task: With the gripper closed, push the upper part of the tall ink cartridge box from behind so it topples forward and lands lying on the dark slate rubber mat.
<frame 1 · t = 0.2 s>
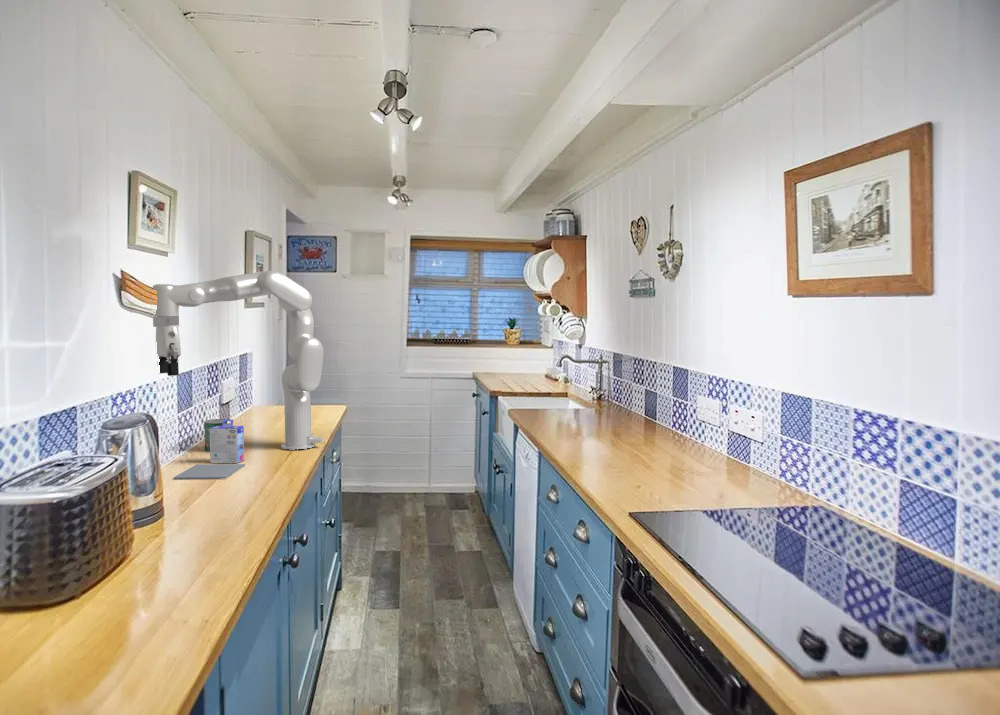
hand: (168, 374, 203), 31 cm above the countertop, tool pointing down, fingers open, 9 cm apart
canned tomato: (216, 450, 230), on the countertop
ink cartridge box: (227, 462, 212), on the countertop
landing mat: (210, 472, 198), on the countertop
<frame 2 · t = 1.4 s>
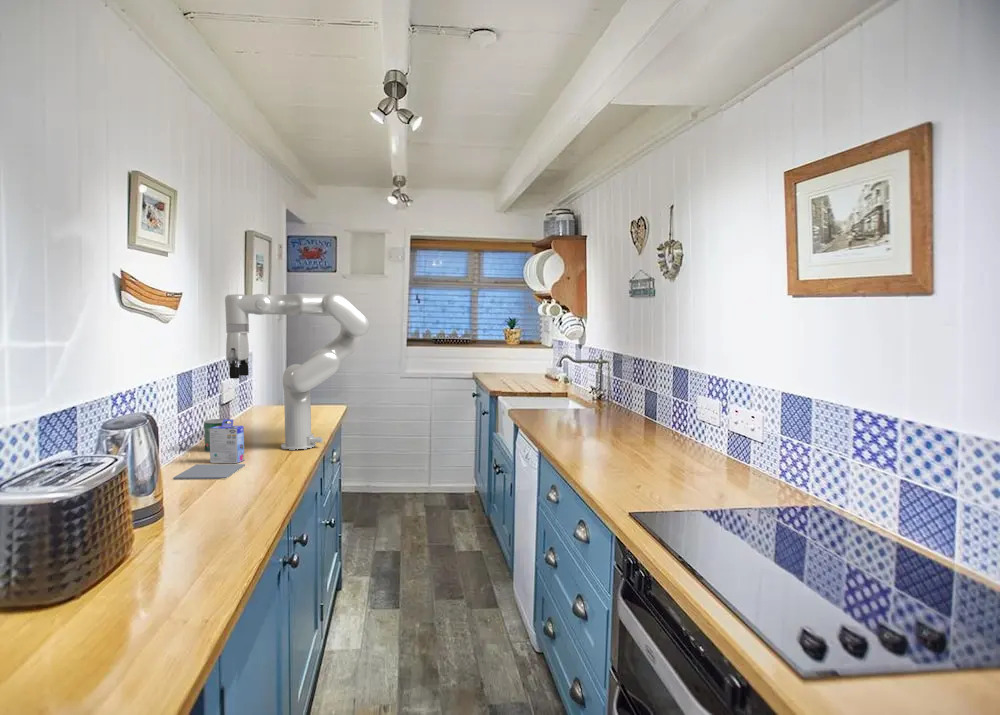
hand: (239, 376, 223), 28 cm above the countertop, tool pointing down, fingers open, 8 cm apart
nothing on the countertop moved.
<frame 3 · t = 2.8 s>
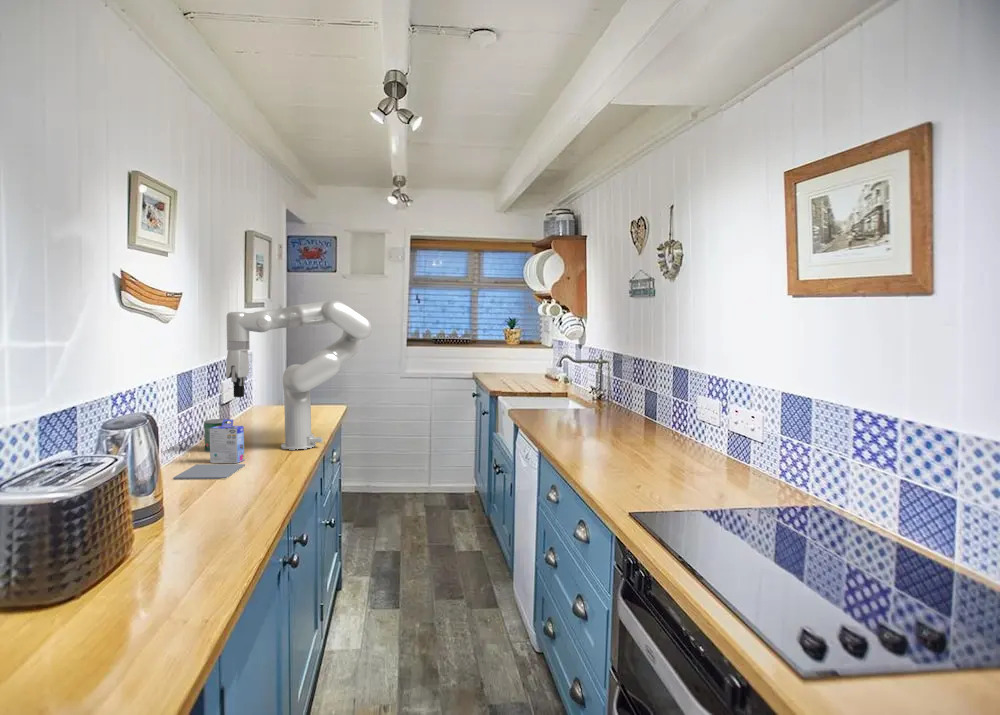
hand: (239, 396, 223), 21 cm above the countertop, tool pointing down, fingers closed
nothing on the countertop moved.
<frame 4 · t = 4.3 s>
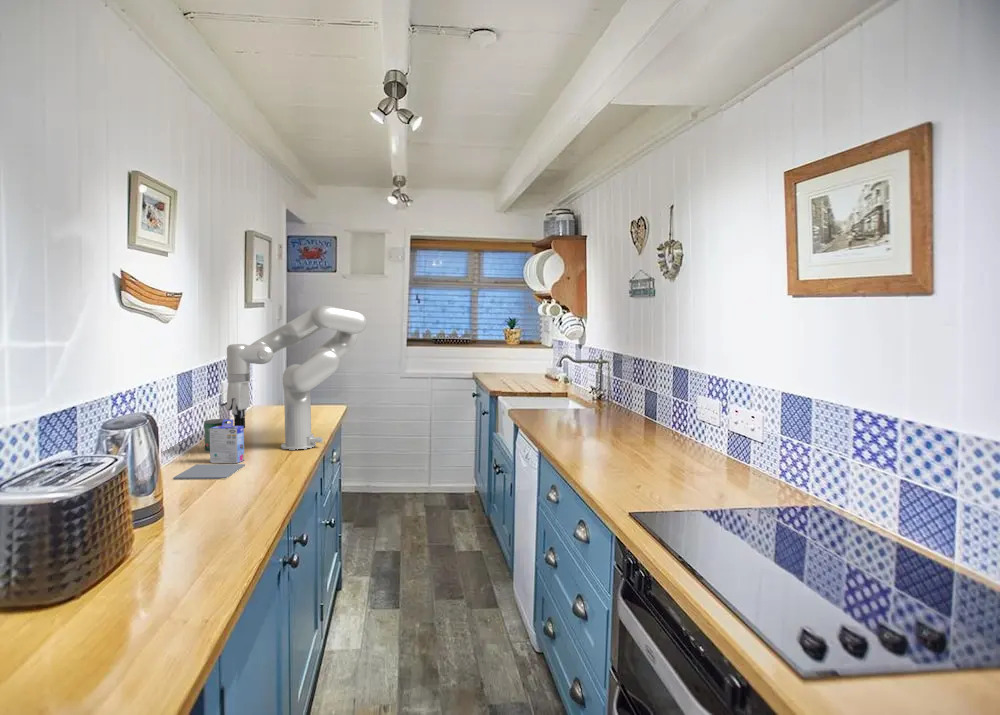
hand: (239, 428, 224), 9 cm above the countertop, tool pointing down, fingers closed
nothing on the countertop moved.
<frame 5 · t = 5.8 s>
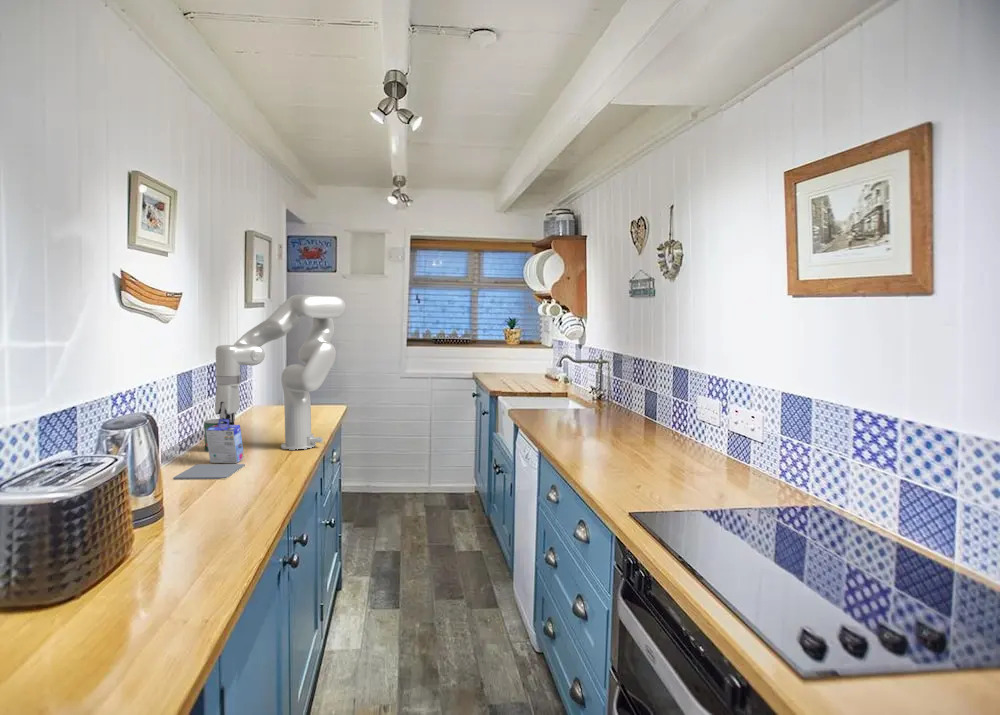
hand: (228, 433, 214), 9 cm above the countertop, tool pointing down, fingers closed
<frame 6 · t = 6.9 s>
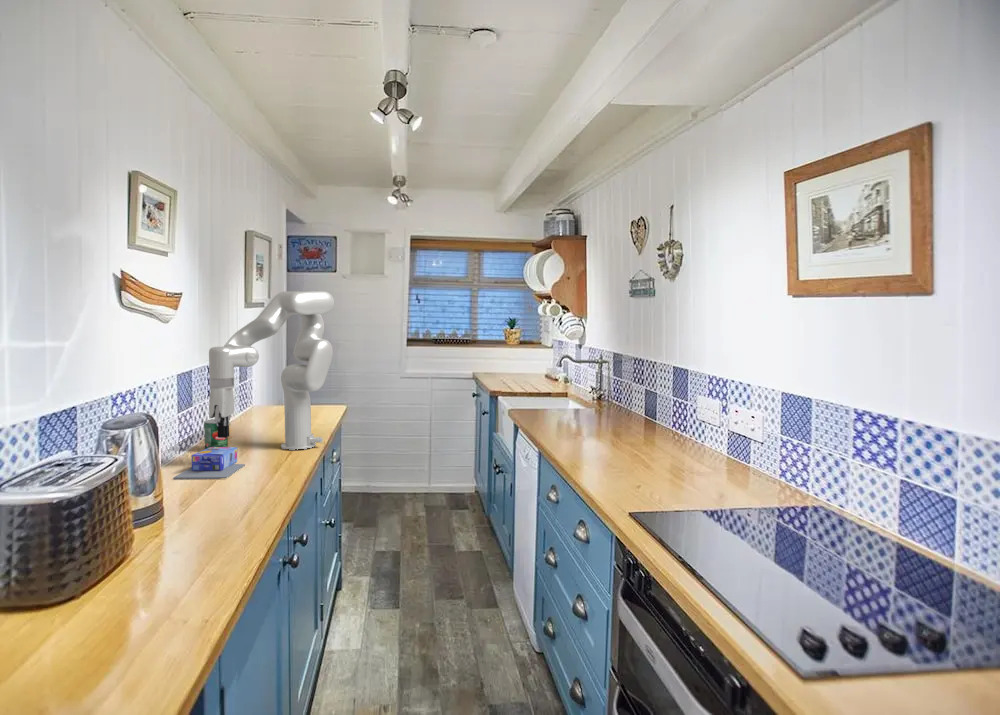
hand: (223, 437, 209), 9 cm above the countertop, tool pointing down, fingers closed
ink cartridge box: (224, 453, 209), point 3 cm above the countertop, touching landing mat
everything else where it was.
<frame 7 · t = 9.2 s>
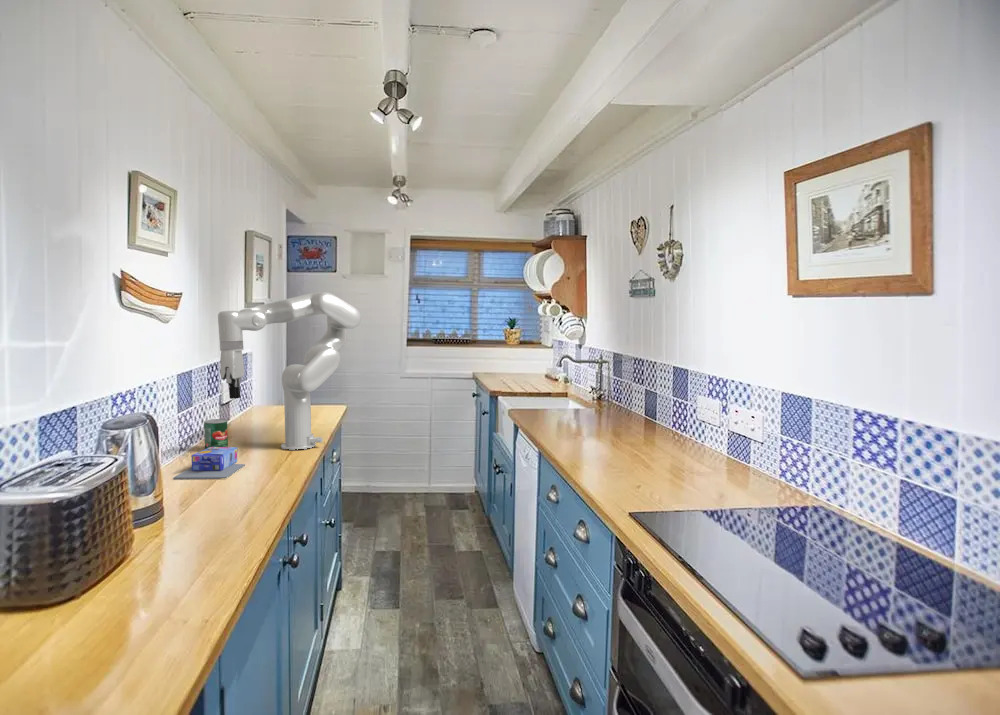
hand: (235, 398, 217), 21 cm above the countertop, tool pointing down, fingers closed
nothing on the countertop moved.
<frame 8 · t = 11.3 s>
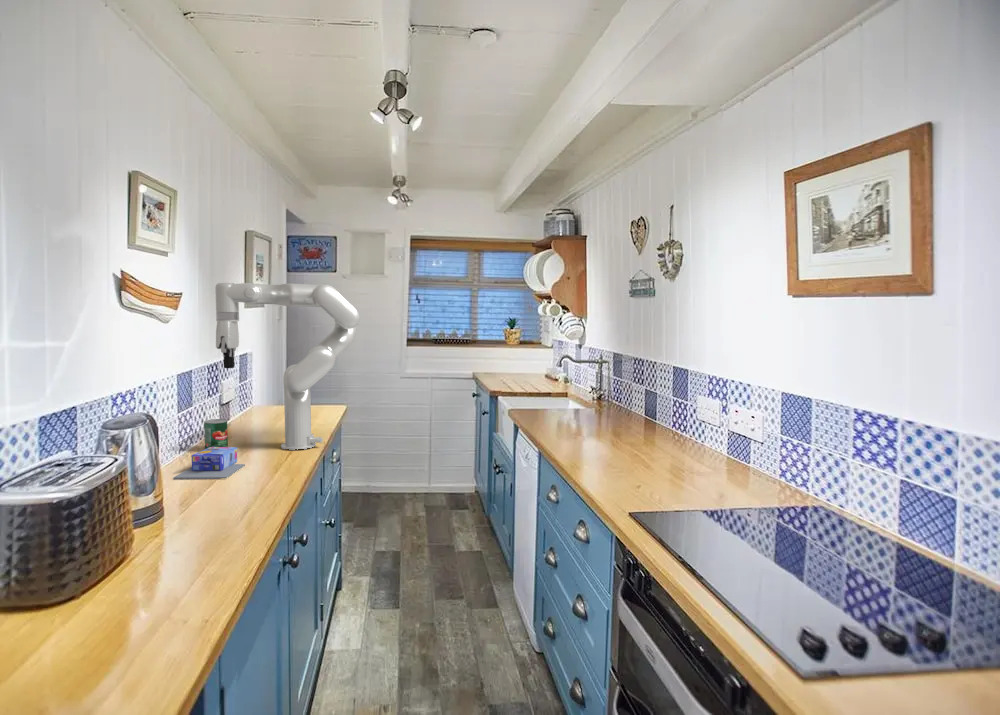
hand: (229, 367, 224), 31 cm above the countertop, tool pointing down, fingers closed
nothing on the countertop moved.
at the end: ink cartridge box tilted 92°; ink cartridge box touching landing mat; ink cartridge box inside the target area (2.9 cm from its centre), point 3.4 cm above the countertop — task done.
